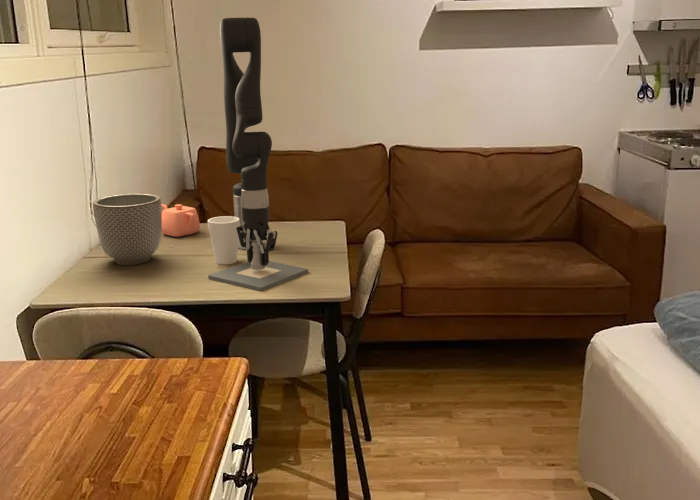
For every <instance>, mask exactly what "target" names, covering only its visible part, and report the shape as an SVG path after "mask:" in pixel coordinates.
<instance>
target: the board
mask: <svg viewBox="0 0 700 500" xmlns="http://www.w3.org/2000/svg"><path fill="white" fill-rule="evenodd" d="M250 266H251V264H250V263H249V262H248V261H246V262H243V263H239V264H236V265H234V266H231V267H228V268H224V269H221V270H220V271H216V272H213V273H211V274H208V277H207V278H209V279H208V280H212V279H213V280H212V281H218V282H222V283H225V284H231V285H233V286H234V285H235V286H239V287H242V288H245V289H250V290H253V291H254V290H255V291H259V292H263V291H265V290H268V289H270V288H272V287H275V286H278V285H280V284H282V283H285V282H287V281H290V280H292V279H295V278H297V277H300V276H303V275H305V274H308V273H309V268H306V267H302V266H301V267H300V266H296V265H291V264H286V263H280V262H276V261H271V260H269V263H268V265H266V267H265V269H262V270H253V269H252V268H251V267H250Z"/></svg>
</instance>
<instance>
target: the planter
mask: <svg viewBox="0 0 700 500" xmlns="http://www.w3.org/2000/svg"><path fill="white" fill-rule="evenodd" d="M161 204H162V200H161V197H160V196H159V195H157V194H152V193H120V194H114V195H107V196H104V197H99V198H97V199H95V200H94V201H93V202H92V210H93V216H94V221H95V227H96V231H97V236H98V241H99V243H100V246H101V248H102V250H103V251H104V253H105V254H106V255H107V256H108V257H109V258H111V259H112V260H113V261H114V262H115V263H116V264H117V265H121V266H135V265H140V264H145V263H147V262H149V261H150V260H151V259H152V255H154V254H155V252H156V251H157V250H158V249H159V247H160V245H161V240H162V234H163V233H162V205H161Z"/></svg>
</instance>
